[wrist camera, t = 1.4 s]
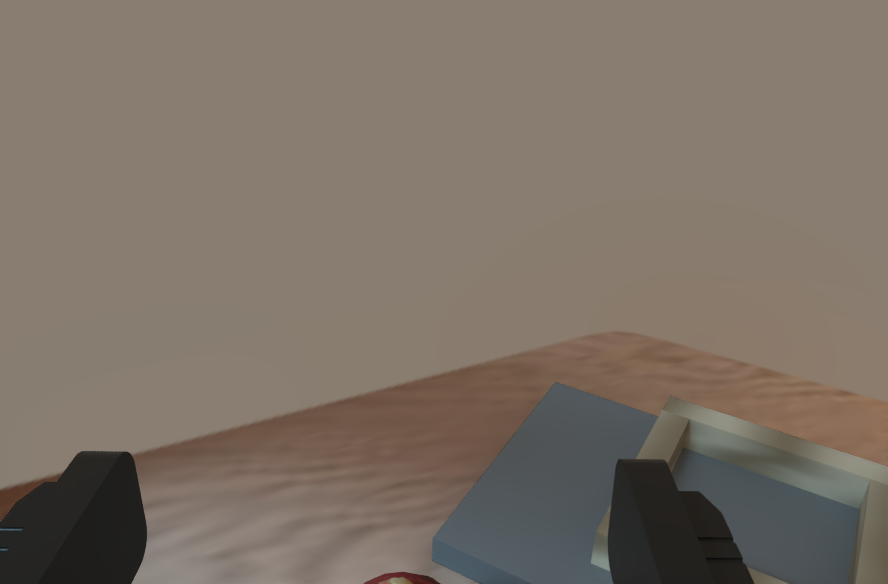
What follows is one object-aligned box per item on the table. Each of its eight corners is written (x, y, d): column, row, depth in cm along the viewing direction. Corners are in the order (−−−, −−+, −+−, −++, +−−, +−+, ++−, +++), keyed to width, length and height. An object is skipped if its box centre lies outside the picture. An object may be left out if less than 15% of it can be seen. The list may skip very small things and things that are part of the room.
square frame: (590, 563, 37) (595, 531, 36) (664, 424, 46) (670, 396, 45) (875, 685, 32) (890, 653, 31) (893, 501, 41) (905, 472, 40)
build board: (432, 560, 38) (433, 538, 38) (553, 401, 50) (555, 381, 49) (887, 776, 30) (899, 752, 29) (906, 524, 41) (915, 503, 41)
